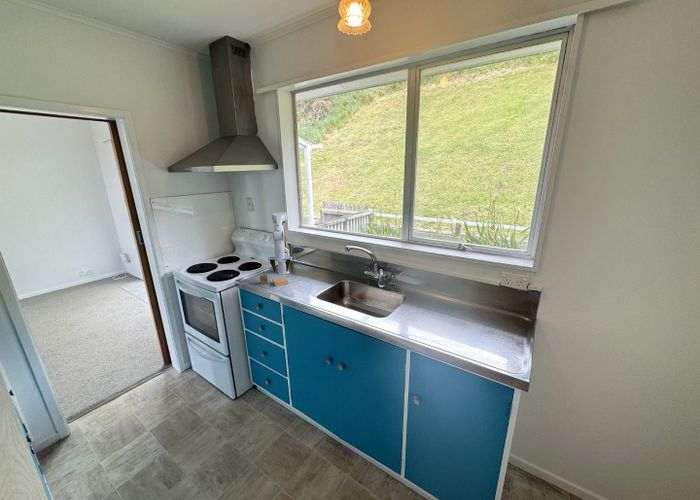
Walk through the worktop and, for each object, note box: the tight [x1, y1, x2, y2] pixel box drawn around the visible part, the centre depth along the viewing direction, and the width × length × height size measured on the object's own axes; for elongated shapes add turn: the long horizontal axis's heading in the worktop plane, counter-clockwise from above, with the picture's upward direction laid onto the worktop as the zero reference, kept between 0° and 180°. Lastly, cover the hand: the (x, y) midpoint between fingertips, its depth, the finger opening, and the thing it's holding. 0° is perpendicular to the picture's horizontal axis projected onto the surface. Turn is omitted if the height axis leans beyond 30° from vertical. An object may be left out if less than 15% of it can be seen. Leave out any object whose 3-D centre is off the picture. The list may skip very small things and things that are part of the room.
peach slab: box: [271, 276, 289, 287], centre depth 183 cm, size 8×8×3 cm
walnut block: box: [259, 274, 269, 285], centre depth 184 cm, size 4×4×5 cm
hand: (281, 271), depth 177 cm, fingers open, 7 cm apart
